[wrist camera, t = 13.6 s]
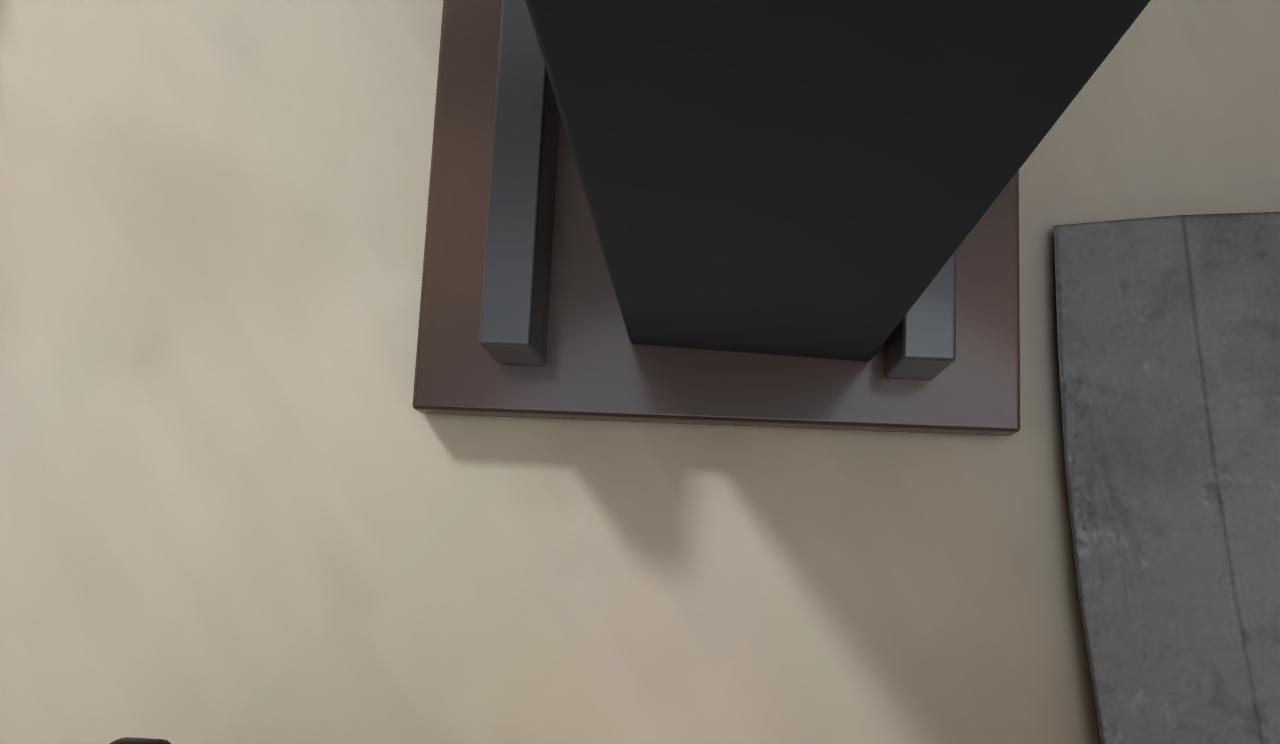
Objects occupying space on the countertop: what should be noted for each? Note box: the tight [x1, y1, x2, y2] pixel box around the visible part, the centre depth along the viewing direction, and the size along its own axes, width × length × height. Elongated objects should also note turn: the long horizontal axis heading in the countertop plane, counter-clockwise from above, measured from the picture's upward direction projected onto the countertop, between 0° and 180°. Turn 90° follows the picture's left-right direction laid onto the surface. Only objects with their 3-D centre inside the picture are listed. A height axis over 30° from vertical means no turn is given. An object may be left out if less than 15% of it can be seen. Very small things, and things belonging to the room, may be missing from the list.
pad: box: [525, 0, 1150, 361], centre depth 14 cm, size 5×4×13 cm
